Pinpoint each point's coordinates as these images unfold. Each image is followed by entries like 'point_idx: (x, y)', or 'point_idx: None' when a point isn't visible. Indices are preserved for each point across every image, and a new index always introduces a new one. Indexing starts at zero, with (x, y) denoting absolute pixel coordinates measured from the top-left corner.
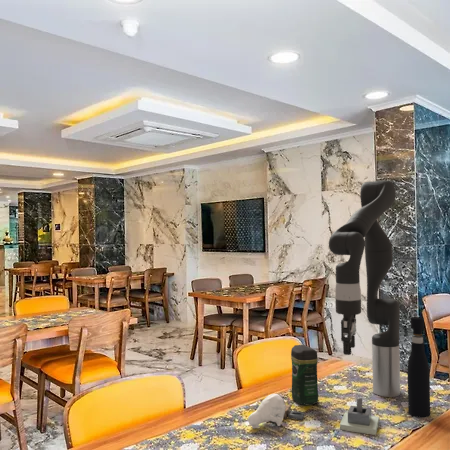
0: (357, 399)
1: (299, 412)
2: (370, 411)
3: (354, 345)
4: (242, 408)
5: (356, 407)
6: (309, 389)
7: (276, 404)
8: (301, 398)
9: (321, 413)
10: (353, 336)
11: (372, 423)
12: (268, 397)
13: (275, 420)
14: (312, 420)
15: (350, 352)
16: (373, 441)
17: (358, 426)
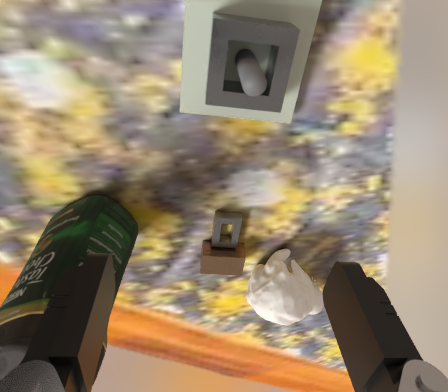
0: (262, 91)
1: (217, 228)
2: (244, 21)
3: (106, 265)
4: (204, 318)
5: (220, 82)
6: (116, 242)
7: (304, 295)
8: (135, 240)
9: (176, 174)
10: (81, 356)
11: (265, 8)
12: (292, 321)
13: (299, 266)
14: (235, 190)
15: (362, 275)
16: (368, 4)
17: (299, 63)
